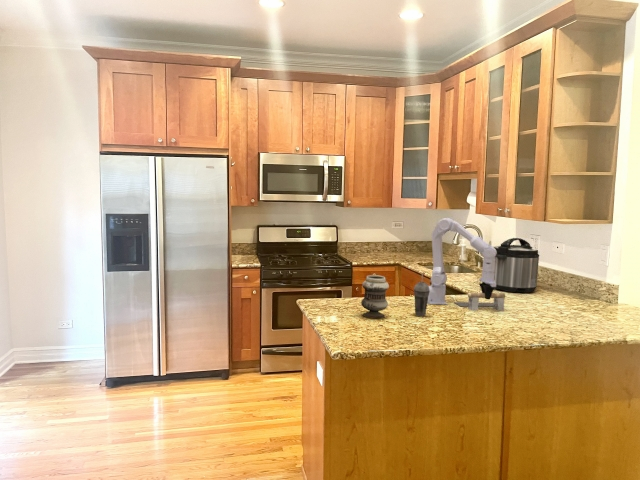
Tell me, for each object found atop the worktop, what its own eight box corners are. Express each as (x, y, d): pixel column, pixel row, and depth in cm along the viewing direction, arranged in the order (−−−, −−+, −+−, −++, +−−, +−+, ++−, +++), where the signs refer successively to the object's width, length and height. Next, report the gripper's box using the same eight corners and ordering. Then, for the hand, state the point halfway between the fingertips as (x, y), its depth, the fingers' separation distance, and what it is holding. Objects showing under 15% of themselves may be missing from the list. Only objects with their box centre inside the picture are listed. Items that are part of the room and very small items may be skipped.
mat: (460, 306, 234) (460, 305, 234) (454, 303, 242) (454, 302, 242) (502, 307, 236) (502, 306, 236) (495, 303, 244) (495, 302, 244)
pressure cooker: (526, 285, 300) (530, 236, 297) (547, 295, 272) (551, 241, 269) (479, 284, 300) (483, 235, 297) (495, 293, 272) (499, 239, 269)
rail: (469, 298, 228) (469, 293, 228) (467, 296, 230) (468, 292, 230) (505, 298, 229) (505, 293, 229) (502, 297, 232) (503, 292, 232)
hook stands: (471, 310, 227) (472, 297, 227) (467, 308, 232) (468, 295, 232) (503, 311, 229) (504, 298, 228) (498, 308, 234) (499, 295, 233)
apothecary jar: (370, 320, 202) (372, 279, 201) (355, 313, 213) (357, 275, 211) (392, 318, 208) (394, 278, 206) (377, 311, 219) (379, 273, 217)
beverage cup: (429, 314, 217) (431, 272, 215) (427, 318, 210) (430, 274, 208) (413, 312, 219) (415, 270, 217) (411, 316, 212) (413, 272, 210)
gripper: (503, 274, 222) (500, 302, 223) (489, 269, 236) (487, 295, 237) (488, 273, 221) (486, 301, 222) (476, 268, 236) (474, 295, 237)
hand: (486, 298), depth 230 cm, fingers closed on rail, 2 cm apart
